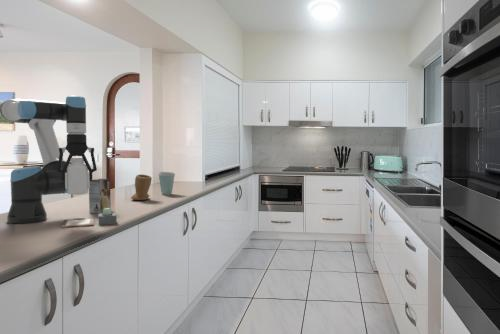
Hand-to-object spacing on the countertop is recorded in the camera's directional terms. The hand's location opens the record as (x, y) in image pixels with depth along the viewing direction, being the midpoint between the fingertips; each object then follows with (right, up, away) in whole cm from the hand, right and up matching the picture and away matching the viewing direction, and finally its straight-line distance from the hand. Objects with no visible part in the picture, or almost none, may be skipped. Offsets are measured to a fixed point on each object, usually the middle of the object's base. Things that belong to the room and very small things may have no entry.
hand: (77, 188), depth 168 cm
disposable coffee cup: (+17, -9, +97) cm, 99 cm away
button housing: (+11, -15, +3) cm, 19 cm away
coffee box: (-2, -13, +30) cm, 33 cm away
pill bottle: (0, -2, 0) cm, 2 cm away
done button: (+11, -12, +3) cm, 17 cm away
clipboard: (0, -15, +1) cm, 15 cm away
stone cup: (+7, -11, +73) cm, 74 cm away
